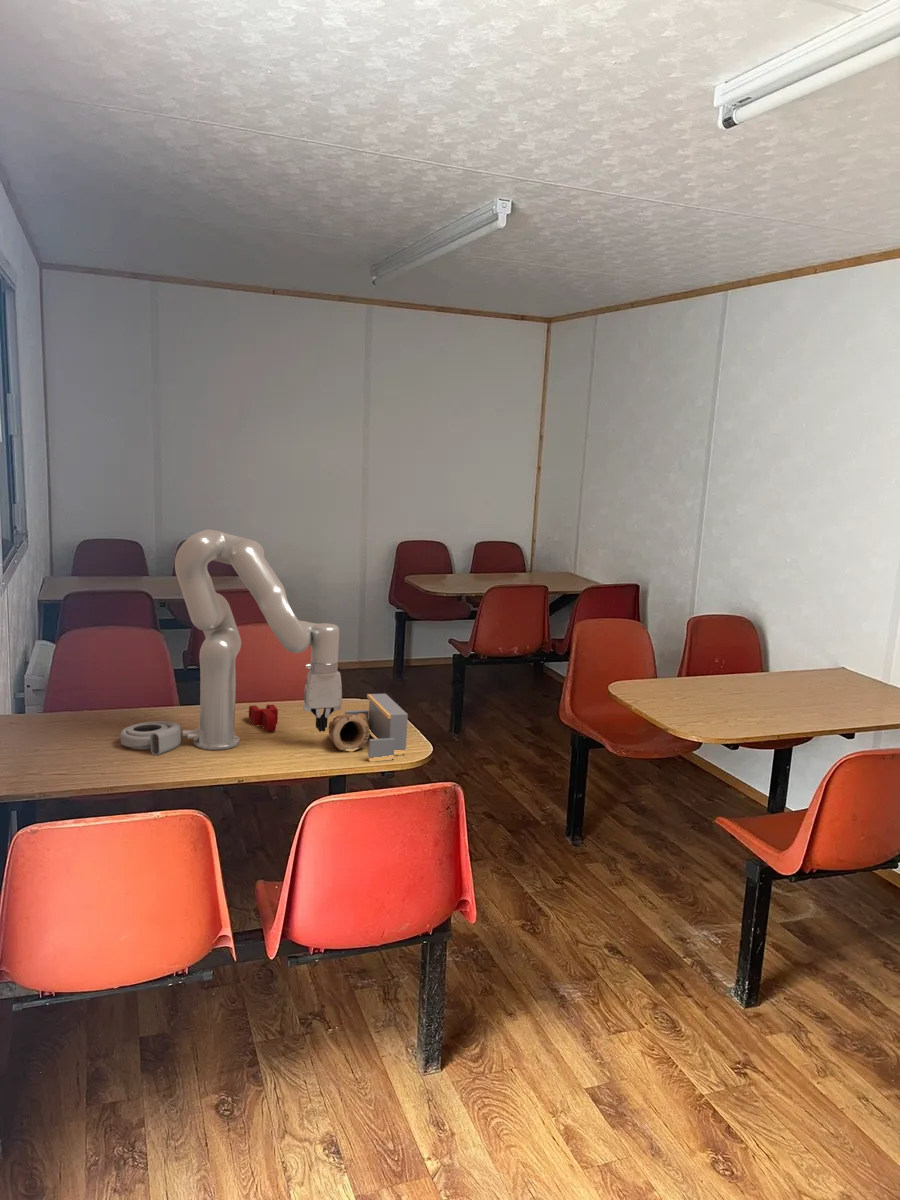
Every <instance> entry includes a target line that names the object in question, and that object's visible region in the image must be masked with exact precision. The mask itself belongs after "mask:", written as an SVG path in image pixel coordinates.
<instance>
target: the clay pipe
mask: <svg viewBox="0 0 900 1200" xmlns="http://www.w3.org/2000/svg"><path fill="white" fill-rule="evenodd" d="M368 718H369V717H368ZM368 718H367V716H366V714H363V713H360V714H357V715H351V714H346V715H345V714H343V715H342V714H339V715H338V716H335V717H333V719H332V721H330V722H329V724H328V737H329V739H330V741H332V743H334V744H333V745H334V746H335V747H336V748H338V750H340V751H341V750H346V749H355V748H361V747H362V748H363V747H364V746H365V744H367V742H368V741H369V739H370V734H369V733H370V731H369V729H370V722H369V720H368Z"/></svg>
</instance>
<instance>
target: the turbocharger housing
mask: <svg viewBox="0 0 900 1200" xmlns="http://www.w3.org/2000/svg"><path fill="white" fill-rule="evenodd" d="M181 729H182V728H181V726H180V724H179V723H177V722H174V721H170V720H152V721H145V722H138V723H135V724H132V725H129V726H126V727H125V728H123V729H122V730H121V732H120V733H119V734H120V736H119V737H120V744H121V745H122V746H124V747H126V748H127V747H128V748H130V749H133V750H150V752H151V754H152V755H153V756H157V757H158V756H160V755H162V754H164V753H167V752H170V751H173V750H174V749H176V748H177V747H178V746H180V744H181V742H182V730H181ZM157 741H158V743H157Z"/></svg>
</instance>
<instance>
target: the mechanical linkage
mask: <svg viewBox="0 0 900 1200" xmlns="http://www.w3.org/2000/svg"><path fill="white" fill-rule="evenodd" d="M278 712H279V709H278V708H277V707H276V706H275V705H274V704H266V707H265V708H259V707H258V706H257V705H249V707H248V719H250V720H251V721H250V720H249V721H250V723H251V722H252V723H253V724H252V723H251V724H252V725H262V726H263V727H264V728H263V727H262V726H261V727H262V728H263V729H264V730H266V731H267V732H266V731H265V732H266V733H272V732H271V731H275V732H276V729H277V725H278V717H279V716H278V714H279V713H278ZM276 724H277V725H276Z"/></svg>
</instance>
